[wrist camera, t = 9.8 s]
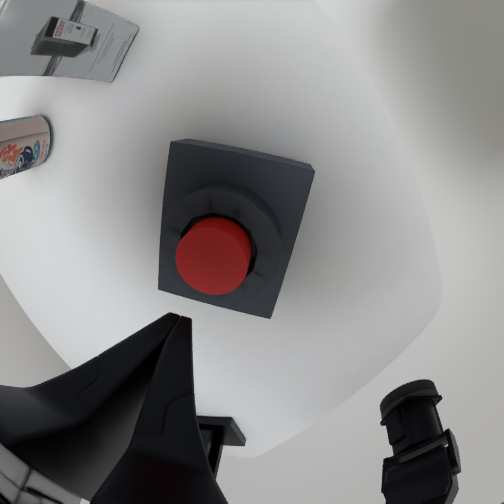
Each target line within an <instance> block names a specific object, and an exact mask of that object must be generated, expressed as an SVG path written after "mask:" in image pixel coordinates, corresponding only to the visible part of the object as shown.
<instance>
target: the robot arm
mask: <svg viewBox="0 0 504 504" xmlns="http://www.w3.org/2000/svg"><path fill="white" fill-rule="evenodd" d="M441 400H442V396H441V395H432V396H407V397H405V398H404V399H403V400H402V401H401V402H400V403H399V404H398V405H397V406H396V407H395V408H394V409H393V410H392V411H391V412H390V413H389V414H388V415H387V416H386V417H385V418H384V419H383V420H382V421H381V422H380V424H381V426H385V425H386V428H387V433H388V439H389V444H390V445H392V448H393V454H394V456H392V457H389V458H388V457H387V458H385V459H384V460H383V471H382V488H381V492H382V493H383V494H384V497H385V499H386V504H452V503H453V501H454V499H455V497H456V494H457V492H458V490H459V488H458V481H457V474H458V473H460V472H461V465H460V457H459V451H458V446H457V443H456V440H455V437H454V435H453V433H452V432H451V431H450V429H447V430H445V431H443V428H442V425H441V421H440V418H439V416H438V412H437V409H436V405H437V404H438V403H439V402H440V401H441ZM447 444H448V446H447V447H444V446H445V445H447ZM82 498H84V499H85V500H88V501H90V504H228V502H227V501H226V498H225V497H224V495H223V493H222V491H221V489H220V487H219V486H218V484H217V482H216V480H215V478H214V475H213V473H212V470H211V468H210V465H209V462H208V458H207V455H206V451H205V448H204V444H203V441H202V437H201V433H200V430H199V425H198V420H197V416H196V407H195V395H194V378H193V351H192V319H191V318H188V317H184V316H180V315H178V314H174V313H171V312H170V313H167V314H165V315H164V316H162V317H161V318H159V319H157V320H156V321H154V322H152V323H151V324H149V325H147V326H146V327H144V328H142V329H141V330H139V331H137V332H136V333H134V334H133V335H131V336H129V337H128V338H126V339H124V340H123V341H121V342H119V343H118V344H116V345H114V346H113V347H111V348H109V349H108V350H106V351H104V352H103V353H101V354H99V355H98V356H96V357H94V358H92V359H91V360H89V361H87V362H86V363H84V364H82V365H80V366H78V367H76V368H74V369H72V370H70V371H68V372H66V373H64V374H61V375H59V376H57V377H55V378H52V379H50V380H48V381H45V382H43V383H41V384H38V385H36V386H32V387H25V388H20V387H11V386H4V385H0V504H80V501H81V499H82ZM501 504H504V502H503V503H501Z"/></svg>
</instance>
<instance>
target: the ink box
mask: <svg viewBox="0 0 504 504" xmlns="http://www.w3.org/2000/svg"><path fill="white" fill-rule="evenodd" d="M138 29H139V28H138V26H137V25H135V24H133V23H131V22H129V21H127V20H125V19H123V18H121V17H119V16H117V15H115V14H113V13H111V12H109V11H106V10H104V9H102V8H100V7H97V6H95V5H93V4H91V3H88V2H86V1H83V0H0V77H2V76H55V77H70V78H81V79H90V80H98V81H105V82H112V80H113V79H114V76H115V74H116V72H117V70H118V68H119V66H120V64H121V62H122V60H123V57H124V55H125V53H126V51H127V49H128V47H129V45H130V44H131V42H132V40H133V38H134V36H135V34H136V33H137V31H138Z"/></svg>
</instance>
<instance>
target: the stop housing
mask: <svg viewBox="0 0 504 504" xmlns="http://www.w3.org/2000/svg"><path fill="white" fill-rule="evenodd" d="M314 174H315V171H314V169H313V168H312V166H311V165H309V164H306V163H302V162H298V161H294V160H291V159H287V158H283V157H278V156H274V155H270V154H266V153H261V152H257V151H252V150H247V149H243V148H238V147H232V146H227V145H222V144H216V143H211V142H205V141H198V140H192V139H183V140H176V141H171V143H170V149H169V156H168V164H167V171H166V180H165V189H164V198H163V209H162V221H161V234H160V251H159V276H158V289H159V290H162V291H165V292H168V293H172V294H175V295H179V296H182V297H186V298H189V299H193V300H196V301H200V302H204V303H208V304H211V305H215V306H219V307H223V308H227V309H231V310H235V311H239V312H243V313H247V314H251V315H255V316H260V317H264V318H268V319H270V318H271V316H272V313H273V310H274V307H275V304H276V301H277V297H278V294H279V291H280V288H281V285H282V282H283V279H284V276H285V272H286V269H287V266H288V263H289V260H290V256H291V253H292V250H293V247H294V243H295V240H296V237H297V233H298V230H299V226H300V223H301V220H302V216H303V213H304V209H305V206H306V202H307V199H308V195H309V192H310V188H311V184H312V181H313V177H314ZM210 217H220V218H225V219H228V220H230V221H233V222H234V223H236V224H237V225H239V226H240V227H241V228H242V229H243V230H244V232H245V233H246V234H247V236H248V238H249V240H250V243H251V249H252V254H251V259H250V263H249V266H248V270H247V273H246V277H245V279H244V280H243V282H242V283H241V284H240V285H239V287H237V288H236V289H235V290H233V291H231V292H229V293H225V294H220V295H212V294H206V293H203V292H200V291H198V290H196V289H194V288H193V287H191V286H190V285H189V284H188V283H187V282H186V281H185V280H184V279H183V278H182V276H181V275H180V273H179V271H178V268H177V265H176V250H177V246H178V244H179V242H180V241H181V240H182V238H183V237H184V236H185V235H186V234H187V233H188V231H189V230H190V229H191V228H192V227H193V226H194V225H195V224H196V223H198V222H199V221H201V220H203V219H206V218H210Z"/></svg>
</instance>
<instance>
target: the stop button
mask: <svg viewBox="0 0 504 504" xmlns="http://www.w3.org/2000/svg"><path fill="white" fill-rule="evenodd" d="M251 254H252V249H251V243H250V240H249V238H248V236H247V234H246V233H245V232H244V230H243V229H242V228H241V227H240V226H239V225H237V224H236V223H234V222H233V221H230V220H228V219H225V218H220V217H210V218H206V219H203V220H201V221H199V222H198V223H196V224H195V225H194V226H193V227H192V228H191V229H190V230H189V231H188V233H187V234H186V235H185V236H184V237H183V238H182V240H181V241H180V242H179V244H178V246H177V250H176V265H177V268H178V271H179V273H180V275H181V276H182V278H183V279H184V280H185V281H186V282H187V283H188V284H189V285H190V286H191V287H193V288H194V289H196V290H198V291H200V292H203V293H206V294H212V295H220V294H225V293H229V292H231V291H233V290H235V289H236V288H237V287H239V285H240V284H241V283H242V282H243V280H244V279H245V277H246V273H247V270H248V266H249V263H250V259H251Z"/></svg>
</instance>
